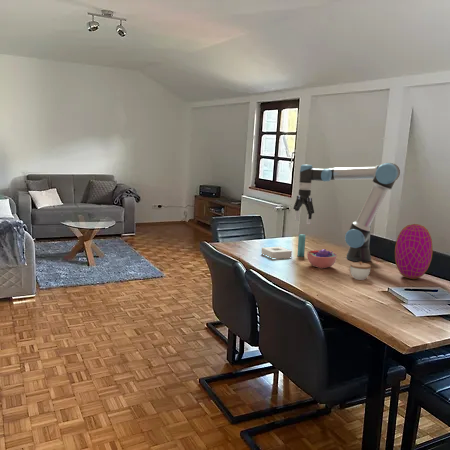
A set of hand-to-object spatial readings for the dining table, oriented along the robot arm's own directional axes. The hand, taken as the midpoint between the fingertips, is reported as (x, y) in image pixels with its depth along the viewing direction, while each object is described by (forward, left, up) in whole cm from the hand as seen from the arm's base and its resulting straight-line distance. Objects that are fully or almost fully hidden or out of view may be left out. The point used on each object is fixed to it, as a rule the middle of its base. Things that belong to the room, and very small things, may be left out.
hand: (302, 222), depth 301 cm
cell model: (-28, +4, -22) cm, 36 cm away
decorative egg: (-63, -31, -22) cm, 74 cm away
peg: (0, 0, -22) cm, 22 cm away
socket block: (+4, +16, -22) cm, 28 cm away
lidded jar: (-55, -2, -22) cm, 59 cm away
